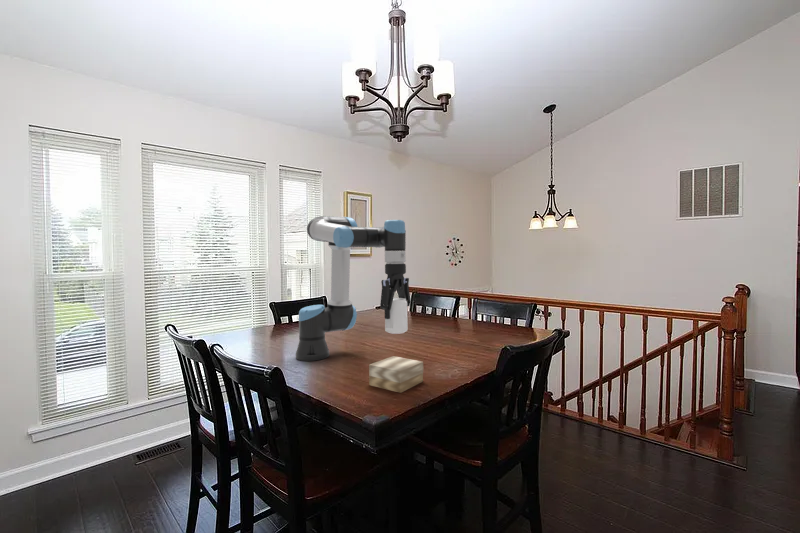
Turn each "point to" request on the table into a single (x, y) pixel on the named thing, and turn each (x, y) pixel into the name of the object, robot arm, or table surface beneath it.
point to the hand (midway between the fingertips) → (396, 325)
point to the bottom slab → (395, 383)
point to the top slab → (396, 369)
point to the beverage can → (398, 316)
